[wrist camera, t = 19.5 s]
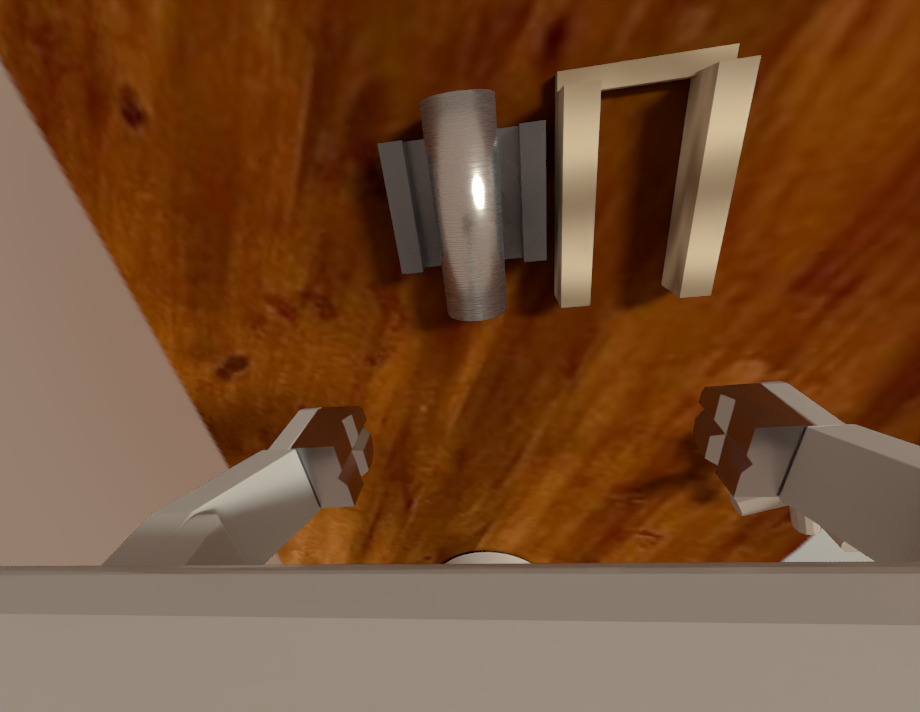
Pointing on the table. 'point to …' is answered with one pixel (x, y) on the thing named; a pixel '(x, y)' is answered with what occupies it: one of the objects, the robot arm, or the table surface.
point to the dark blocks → (517, 187)
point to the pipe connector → (798, 520)
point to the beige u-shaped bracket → (699, 171)
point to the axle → (466, 200)
